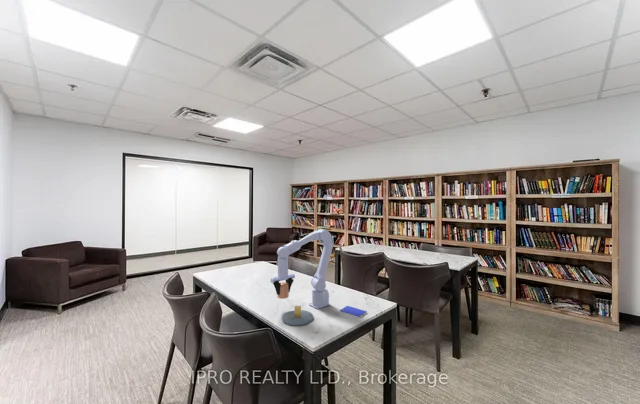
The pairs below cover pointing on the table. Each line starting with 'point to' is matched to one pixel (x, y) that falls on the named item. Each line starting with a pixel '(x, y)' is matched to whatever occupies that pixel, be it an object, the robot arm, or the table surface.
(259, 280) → the table surface
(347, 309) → the hard drive
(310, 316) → the lid
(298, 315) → the capsule
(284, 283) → the tan piece
